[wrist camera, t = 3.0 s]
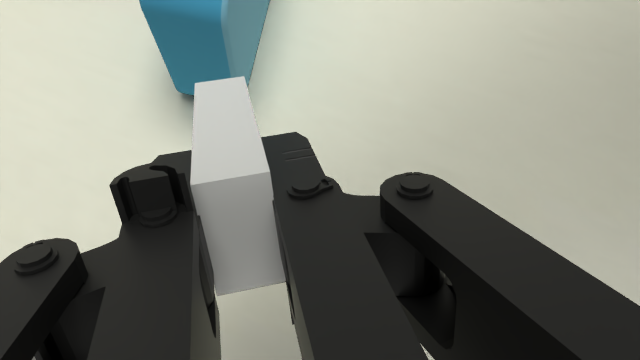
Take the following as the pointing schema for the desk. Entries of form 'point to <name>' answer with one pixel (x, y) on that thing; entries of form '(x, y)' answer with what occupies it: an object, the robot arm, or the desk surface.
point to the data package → (206, 38)
